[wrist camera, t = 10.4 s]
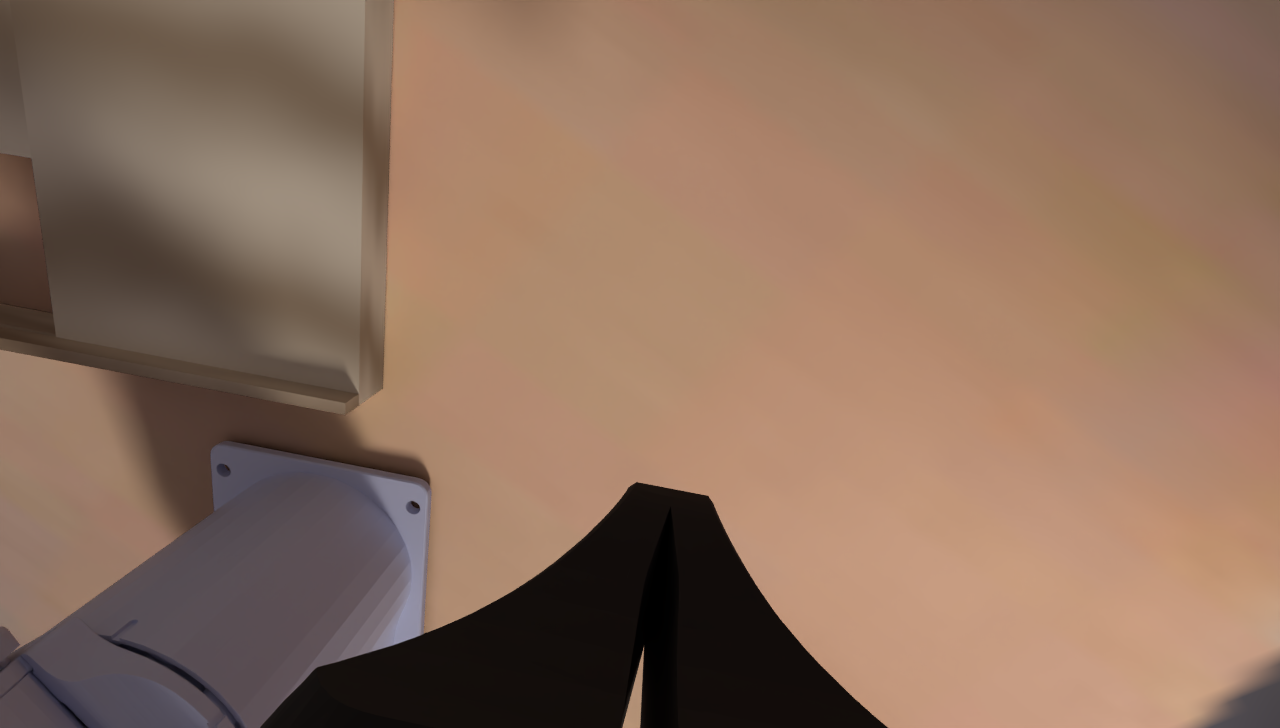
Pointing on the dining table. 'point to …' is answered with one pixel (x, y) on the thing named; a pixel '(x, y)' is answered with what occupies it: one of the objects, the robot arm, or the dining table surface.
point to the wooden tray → (207, 189)
